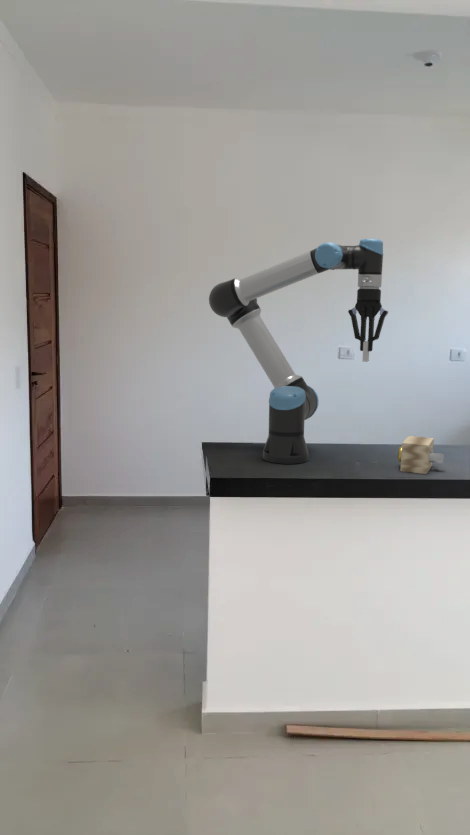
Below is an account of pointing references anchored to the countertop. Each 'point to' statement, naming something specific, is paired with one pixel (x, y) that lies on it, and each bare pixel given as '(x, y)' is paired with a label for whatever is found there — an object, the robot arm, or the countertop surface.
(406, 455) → the bore block
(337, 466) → the countertop surface
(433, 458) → the pin
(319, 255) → the robot arm
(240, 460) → the countertop surface
